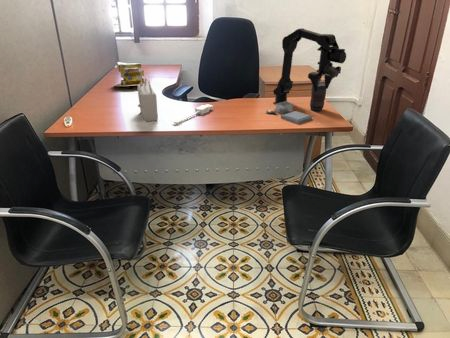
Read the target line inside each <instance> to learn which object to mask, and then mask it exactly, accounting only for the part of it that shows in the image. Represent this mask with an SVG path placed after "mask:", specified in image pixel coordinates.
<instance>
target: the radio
mask: <svg viewBox="0 0 450 338" xmlns="http://www.w3.org/2000/svg"><path fill="white" fill-rule="evenodd" d="M139 71H140V74H141V83H140V85H137V95H138V102H139V104H137V107H138V108H139V109H140V110H139V113H140V114H141V117H143V119H144V121H145V122H153V121H158V120H159V119H158V118H159V115H158V101H157V94H156V93H155V91H154V90H153V88H152V86H151V82H150V80H149V77H145V78H144V82H145V84H143V83H142V78H143V76H142V71H143V70H142V68H139ZM146 82H148V84H146Z"/></svg>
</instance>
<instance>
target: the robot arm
mask: <svg viewBox="0 0 450 338" xmlns="http://www.w3.org/2000/svg"><path fill="white" fill-rule="evenodd" d="M336 38H337V37H336V35H334V34H330V33H329V34H328V33H318V32H314V31H312V30H308V29H305V28H297V29H295V30H294V31H293V32H291V33H290V34H288V35H287V36H284V37H283V38H282V41H281V43H282V44H281V46H282V47H281V48H282V50H283V61H282V68H281V69H282V70H281V77H280V79H279V80H278V81H277V82H278V83H277V85H276V88H274V89H273V91H272V92H273V95H274V96H275V97H274V99H275V100H274V102H272V103H273V104H274V105H276V104H277V103H280V102H284V101H287V102H288V97H287V96H288V94H290V92H291V90H292V88H293V85H294V84H293V83H294V81H293V80H291V71H292V66H293V65H292V63H293V56H294V52H295V50H296V49H297V46H298V43H299V42H301V40H302V39H305V40H309V41H311V42H312V41H313V42H315V43H316V44H317V45H319V46H320V47H318V48H317V51H318V52H320V56H319V60H318V61H317V65H318V69H317V70H316V71H312V72H309V73H308V75H307V79H309V80H310V82H311V86H312V85H313V87H314V90H315V92H317V89H318V85H319V83H321V81H322V77H324V84H325V88H326V90H328V88H329V86H330V85H331V83H332V80H333V79H334V78H337V77H338V76H339V74H341V71H342V67H341V66H338V65H337V66H333V65H334V64H333V63H337V64H344V63H345V61H346V59H347V53H346V49H345V48H340V47H339V44H338V42H337V39H336Z"/></svg>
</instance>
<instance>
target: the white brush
mask: <svg viewBox="0 0 450 338" xmlns="http://www.w3.org/2000/svg"><path fill="white" fill-rule="evenodd" d="M212 109H214V105H212V104H208V103H207V104H201V105H200V106H197V107H195V109H194V111H195V112H194V113H192V114H190V115H188V116H186V117H184V118H182V119H177V120H175V121H173V123H172V125H173V126H178V125H181V124H182V123H183V122H184V121H185V120H188V119H189V118H191V117H193V116H195V115H202V116H203V115H206V114H207V113H209V112H210V111H211V110H212Z"/></svg>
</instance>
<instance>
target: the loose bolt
mask: <svg viewBox="0 0 450 338" xmlns="http://www.w3.org/2000/svg"><path fill="white" fill-rule="evenodd" d="M265 112H266V114H268V115H269V114H271V115H276V114H277V113H276V108H275V109H273V110H268V109H267V110H266V111H265Z"/></svg>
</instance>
